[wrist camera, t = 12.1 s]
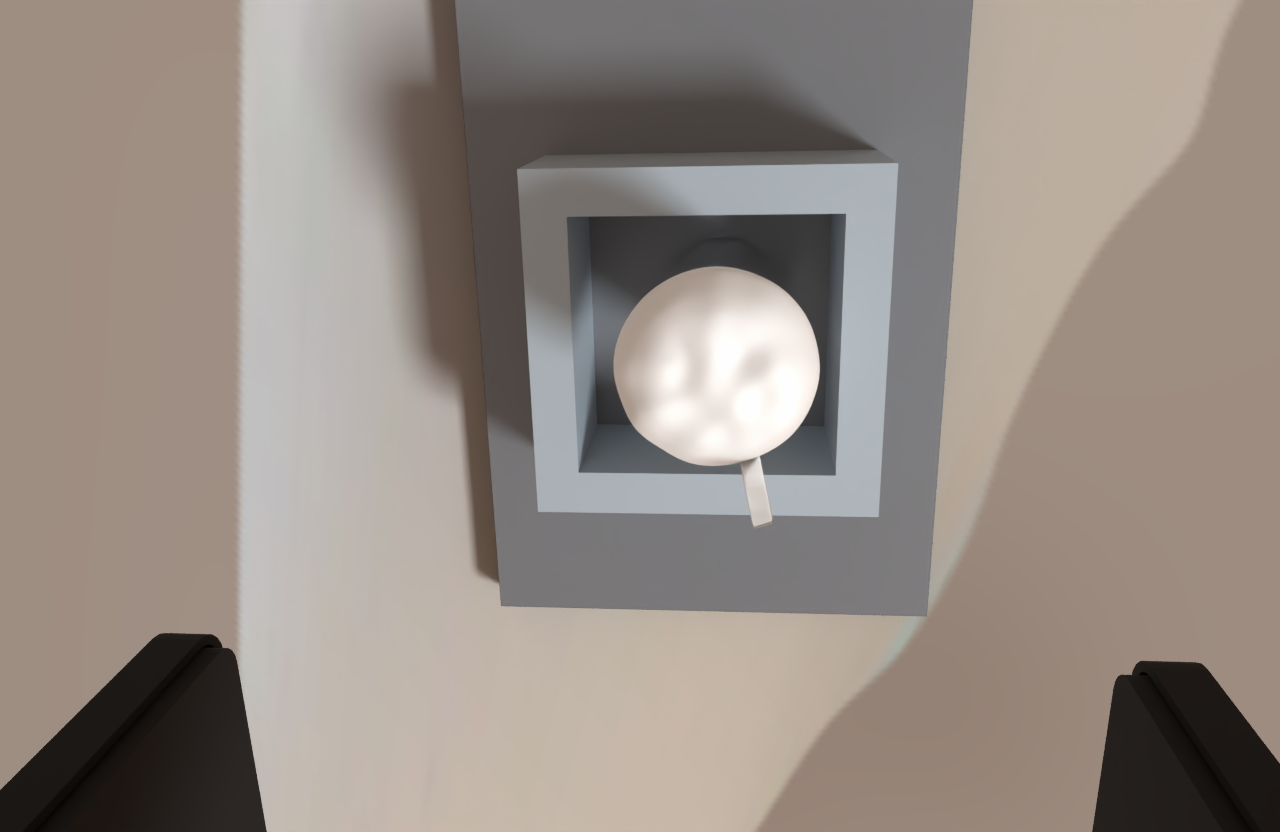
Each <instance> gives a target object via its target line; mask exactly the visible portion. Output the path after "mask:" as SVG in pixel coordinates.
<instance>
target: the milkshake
mask: <svg viewBox="0 0 1280 832" xmlns="http://www.w3.org/2000/svg"><path fill="white" fill-rule="evenodd" d="M613 367H614V378H615V383H616V387H617V390H618V394H619V396H620V399H621V402H622V405H623V407H624V410H625V412H626V414H627V416H628V418H629V420H630V422H631V423H632V425H633V426H634V428H635V429H636V430H637V431H638V432H639V433H640V434H641V435H642V436H643V437H644V438H646V439H647V440H648V441H650V442H651V443H653V444H654V445H656V446H658V447H659V448H661V449H662V450H664V451H666V452H667V453H669V454H671V455H672V456H674V457H676V458H678V459H680V460H683V461H686V462H689V463H692V464H697V465H704V466H720V465H729V464H735V463H740V466H741V471H742V476H743V481H744V486H745V491H746V496H747V502H748V507H749V512H750V517H751V522H752V526H753V528H754V529H756V528H760V527H763V526H767V525H770V524H772V523H773V516H772V511H771V507H770V502H769V497H768V493H767V488H766V483H765V479H764V474H763V469H762V465H761V460H760V456H761V455H763V454H765V453H767V452H769V451H771V450H772V449H774V448H776V447H777V446H779V445H780V444H782V443H783V442H784V441H786V440H787V439H788V438H789V437H790V436H791V435H792V434H793V433H794V432H795V431H796V430H797V429H798V427H799V426H800V425H801V423H802V422H803V420H804V418H805V417H806V415H807V413H808V411H809V409H810V407H811V405H812V402H813V400H814V397H815V394H816V391H817V387H818V382H819V375H820V361H819V353H818V347H817V343H816V339H815V336H814V332H813V330H812V327H811V325H810V322H809V320H808V318H807V317H806V315H805V313H804V312H803V310H802V309H801V308H800V306H799V305H798V304H797V303H796V301H795V300H794V299H793V298H792V297H791V296H790V295H789V293H788V292H787V291H786V289H785V288H784V286H783V284H782V283H781V281H780V279H779V277H778V276H777V274H776V272H775V271H774V269H773V267H772V265H771V264H770V262H769V260H768V259H767V258H765V257H764V256H762V255H761V254H759V253H758V252H757V251H755V250H754V249H752V248H751V247H749V246H748V245H746V244H745V243H743V242H742V241H740V240H739V239H727V240H703V241H701V242H700V243H699V244H698V245H696V246H695V247H694V248H693V249H691V250H690V251H689V252H687V253H686V254H685V255H684V256H682V257H681V258H680V259H678V260H677V261H676V262H675V263H674V264H673V265H672V266H671V268H670V269H669V270H668V271H667V273H666V274H665V275H664V276H663V278H662V279H661V280H660V281H659V283H658V284H657V285H656V286H655V287H654V288H653V289H652V290H651V291H650V292H648V293H647V294H646V295H645V296H644V297H643V298H642V299H641V301H640V302H639V303H638V304H637V305H636V306H635V308H634V309H633V311H632V312H631V313H630V315H629V317H628V318H627V320H626V321H625V323H624V325H623V327H622V329H621V332H620V334H619V337H618V340H617V343H616V347H615V353H614V364H613Z"/></svg>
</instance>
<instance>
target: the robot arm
mask: <svg viewBox="0 0 1280 832" xmlns="http://www.w3.org/2000/svg"><path fill="white" fill-rule="evenodd" d="M0 832H267V831H266V826H265V820H264V814H263V808H262V803H261V797H260V791H259V785H258V780H257V774H256V768H255V762H254V757H253V751H252V745H251V739H250V734H249V728H248V722H247V716H246V711H245V705H244V699H243V693H242V688H241V682H240V676H239V670H238V665H237V660H236V657H235V654H234V653H233V651H232V650H230V649H228V648H222V644H221V642H220V641H219V640H218V638H217V637H215V636H214V635H211V634H178V633H177V634H176V633H163V634H159V635H157V636H156V637H154V638H153V639H152V640H151V641H150V642H149V643H148V644H147V645H146V646H145V647H144V648H143V649H142V650H141V651H140V652H139V653H138V654H137V655H136V656H135V657H134V658H133V659H132V660H131V661H130V662H129V663H128V664H127V665H126V666H125V667H124V668H123V669H122V670H121V671H120V672H119V673H118V674H117V675H116V676H115V677H114V678H113V679H112V680H111V681H110V682H109V683H108V684H107V685H106V686H105V687H104V688H103V689H102V690H101V691H100V692H99V693H98V694H97V695H96V696H95V697H94V698H93V699H91V700H90V701H89V702H88V704H87V705H85V706H84V707H83V708H82V709H81V710H80V711H79V712H78V713H77V714H76V715H75V716H74V717H73V718H72V719H71V720H70V721H69V722H68V723H67V724H66V725H65V726H64V727H63V728H62V729H61V730H60V731H59V732H58V733H57V735H55V736H54V737H53V738H52V739H51V740H50V741H49V742H48V743H47V744H46V745H45V746H44V747H43V748H42V749H41V750H40V751H39V752H38V753H37V754H36V755H35V756H34V757H33V758H32V759H31V760H30V761H29V762H28V763H27V764H26V765H25V766H24V767H23V768H22V769H21V770H20V771H19V772H18V773H17V774H16V775H15V776H14V777H13V778H12V779H11V780H10V781H9V782H8V783H7V784H6V785H5V786H4V787H3V788H2V789H1V790H0ZM1092 832H1280V763H1279V762H1278V761H1277V760H1276V758H1275V757H1274V756H1273V754H1272V753H1271V752H1270V750H1269V749H1268V748H1267V746H1266V745H1265V744H1264V743H1263V741H1262V740H1261V739H1260V737H1259V736H1258V735H1257V733H1256V732H1255V731H1254V729H1253V728H1252V727H1251V725H1250V724H1249V723H1248V722H1247V720H1246V719H1245V718H1244V716H1243V715H1242V714H1241V712H1240V711H1239V710H1238V709H1237V707H1236V706H1235V705H1234V703H1233V702H1232V701H1231V699H1230V698H1229V697H1228V696H1227V694H1226V693H1225V691H1224V690H1223V689H1222V688H1221V686H1220V685H1219V684H1218V682H1217V681H1216V680H1215V678H1214V677H1213V676H1212V674H1211V673H1210V672H1209V671H1208V669H1206V667H1205V666H1204V665H1202V664H1200V663H1196V662H1194V663H1193V662H1161V661H1140V662H1139V663H1137V664H1136V666H1135V668H1134V670H1133V672H1132V675H1120V676H1118V677H1117V679H1116V681H1115V685H1114V689H1113V696H1112V702H1111V710H1110V716H1109V723H1108V730H1107V737H1106V743H1105V750H1104V756H1103V763H1102V770H1101V777H1100V784H1099V791H1098V798H1097V804H1096V811H1095V817H1094V824H1093V831H1092Z"/></svg>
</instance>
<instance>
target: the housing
mask: <svg viewBox="0 0 1280 832" xmlns="http://www.w3.org/2000/svg"><path fill="white" fill-rule="evenodd" d="M972 7H973V0H455V9H456V22H457V35H458V48H459V61H460V74H461V87H462V101H463V114H464V127H465V140H466V153H467V166H468V179H469V192H470V205H471V218H472V232H473V245H474V258H475V271H476V284H477V297H478V310H479V323H480V336H481V350H482V363H483V376H484V389H485V402H486V415H487V428H488V441H489V454H490V467H491V481H492V494H493V507H494V520H495V533H496V546H497V559H498V572H499V585H500V598H501V606H517V607H558V608H600V609H641V610H682V611H724V612H765V613H807V614H848V615H890V616H927V608H928V595H929V581H930V568H931V555H932V541H933V528H934V515H935V501H936V488H937V475H938V461H939V448H940V435H941V421H942V408H943V394H944V381H945V368H946V354H947V341H948V328H949V314H950V301H951V288H952V274H953V261H954V248H955V234H956V221H957V208H958V194H959V181H960V168H961V154H962V141H963V128H964V114H965V101H966V88H967V74H968V61H969V48H970V34H971V21H972ZM727 239H739V240H740V241H742V242H743V243H745V244H746V245H748V246H749V247H751V248H752V249H754V250H755V251H757V252H758V253H759V254H761V255H762V256H764V257H765V258H767V259H768V260H769V262H770V264H771V265H772V267H773V269H774V271H775V272H776V274H777V276H778V277H779V279H780V281H781V283H782V284H783V286H784V288H785V289H786V291H787V292H788V293H789V295H790V296H791V297H792V298H793V299H794V300H795V301H796V303H797V304H798V305H799V306H800V308H801V309H802V310H803V312H804V313H805V315H806V317H807V318H808V320H809V322H810V325H811V327H812V330H813V332H814V336H815V339H816V343H817V347H818V353H819V361H820V375H819V382H818V387H817V391H816V394H815V397H814V400H813V402H812V405H811V407H810V409H809V411H808V413H807V415H806V417H805V418H804V420H803V422H802V423H801V425H800V426H799V427H798V429H797V430H796V431H795V432H794V433H793V434H792V435H791V436H790V437H789V438H788V439H787V440H786V441H784V442H783V443H782V444H780V445H779V446H777V447H776V448H774V449H772V450H771V451H769V452H767V453H765V454H763V455H761V456H760V460H761V465H762V469H763V474H764V479H765V483H766V488H767V493H768V497H769V502H770V507H771V511H772V516H773V523H772V524H770V525H767V526H763V527H760V528H756V529H754V528H753V526H752V522H751V517H750V512H749V507H748V502H747V496H746V491H745V486H744V481H743V476H742V471H741V466H740V463H735V464H729V465H720V466H704V465H697V464H692V463H689V462H686V461H683V460H680V459H678V458H676V457H674V456H672V455H671V454H669V453H667V452H666V451H664V450H662V449H661V448H659V447H658V446H656V445H654V444H653V443H651V442H650V441H648V440H647V439H646V438H644V437H643V436H642V435H641V434H640V433H639V432H638V431H637V430H636V429H635V428H634V426H633V425H632V423H631V422H630V420H629V418H628V416H627V414H626V412H625V410H624V407H623V405H622V402H621V399H620V396H619V394H618V390H617V387H616V383H615V378H614V367H613V364H614V353H615V347H616V343H617V340H618V337H619V334H620V332H621V329H622V327H623V325H624V323H625V321H626V320H627V318H628V317H629V315H630V313H631V312H632V311H633V309H634V308H635V306H636V305H637V304H638V303H639V302H640V301H641V299H642V298H643V297H644V296H645V295H646V294H647V293H648V292H650V291H651V290H652V289H653V288H654V287H655V286H656V285H657V284H658V283H659V281H660V280H661V279H662V278H663V276H664V275H665V274H666V273H667V271H668V270H669V269H670V268H671V266H672V265H673V264H674V263H675V262H676V261H677V260H678V259H680V258H681V257H682V256H684V255H685V254H686V253H687V252H689V251H690V250H691V249H693V248H694V247H695V246H696V245H698V244H699V243H700V242H701V241H703V240H727Z"/></svg>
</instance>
